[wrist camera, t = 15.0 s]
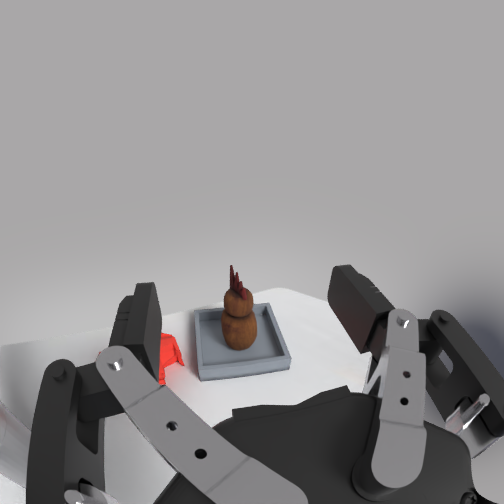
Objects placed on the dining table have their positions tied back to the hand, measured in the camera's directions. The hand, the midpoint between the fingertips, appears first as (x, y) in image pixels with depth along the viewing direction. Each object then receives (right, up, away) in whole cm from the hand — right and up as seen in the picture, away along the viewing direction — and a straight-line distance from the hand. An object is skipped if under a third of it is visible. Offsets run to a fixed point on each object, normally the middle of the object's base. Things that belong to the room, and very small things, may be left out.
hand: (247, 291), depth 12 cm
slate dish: (-2, -15, +35) cm, 38 cm away
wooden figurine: (-2, -14, +35) cm, 38 cm away
